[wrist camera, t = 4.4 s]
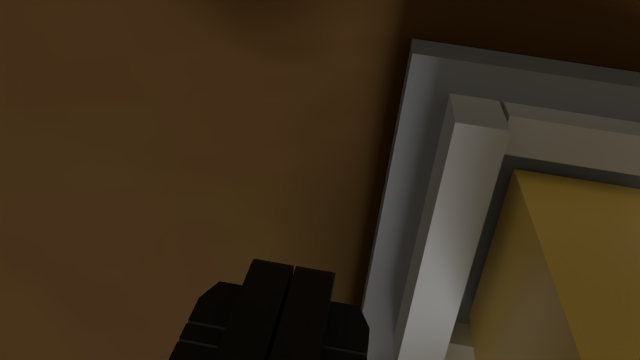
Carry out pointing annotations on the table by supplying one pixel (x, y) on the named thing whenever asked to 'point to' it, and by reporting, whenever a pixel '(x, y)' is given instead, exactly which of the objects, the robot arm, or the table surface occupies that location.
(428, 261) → the grey tray
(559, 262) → the slider ochre
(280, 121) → the table surface
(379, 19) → the table surface
